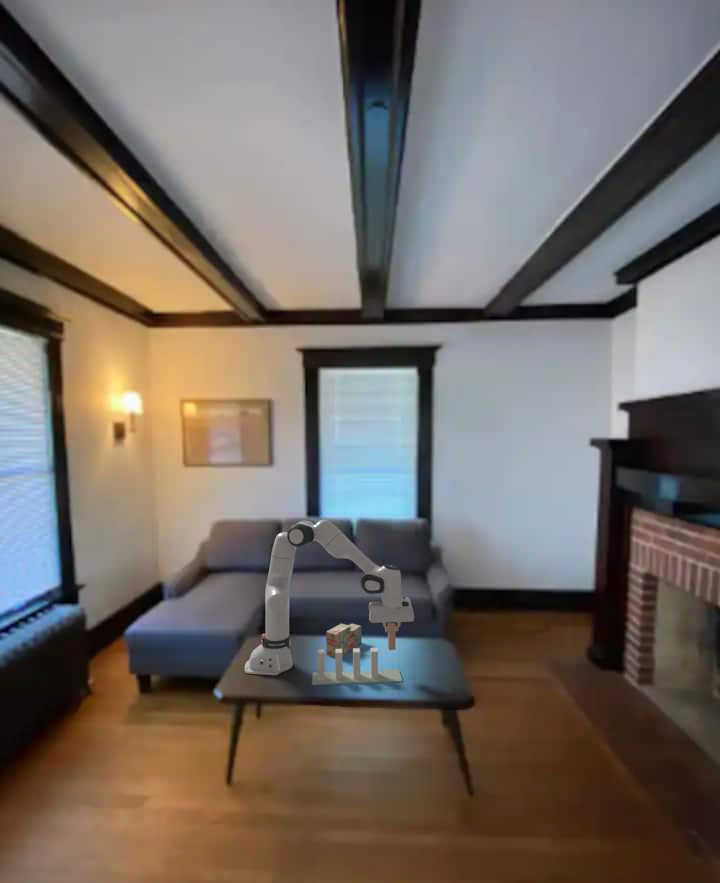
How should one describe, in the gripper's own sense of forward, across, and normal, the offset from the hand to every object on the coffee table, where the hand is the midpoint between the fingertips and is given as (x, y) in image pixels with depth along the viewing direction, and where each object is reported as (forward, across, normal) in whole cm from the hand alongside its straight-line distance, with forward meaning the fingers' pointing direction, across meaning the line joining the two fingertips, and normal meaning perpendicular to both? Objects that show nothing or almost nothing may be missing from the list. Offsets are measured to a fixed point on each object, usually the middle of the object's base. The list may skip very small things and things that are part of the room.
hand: (391, 631), depth 216 cm
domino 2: (+20, -24, 0) cm, 31 cm away
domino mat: (+21, -16, 0) cm, 26 cm away
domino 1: (+20, -32, 0) cm, 38 cm away
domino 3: (+20, -16, 0) cm, 26 cm away
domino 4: (+20, -8, 0) cm, 22 cm away
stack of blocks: (+21, -21, +29) cm, 42 cm away
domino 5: (+8, 0, 0) cm, 8 cm away
